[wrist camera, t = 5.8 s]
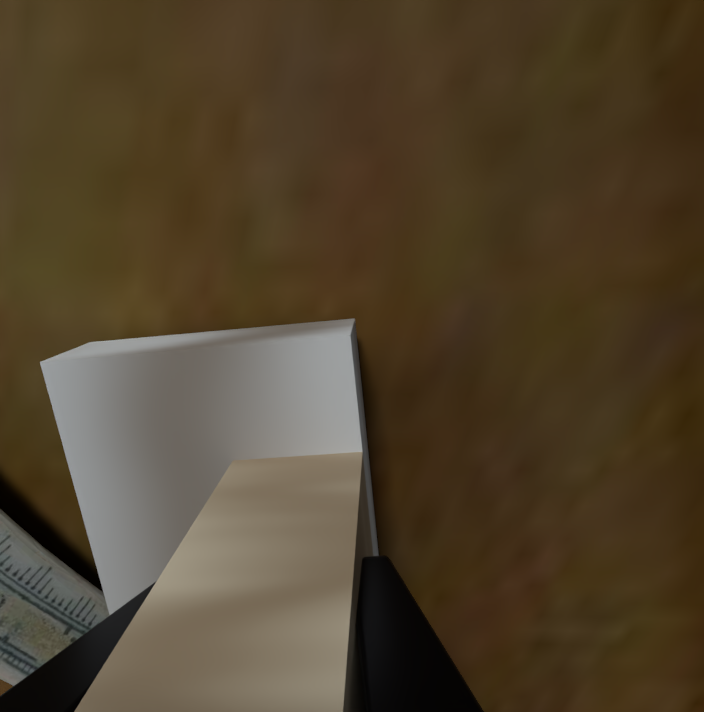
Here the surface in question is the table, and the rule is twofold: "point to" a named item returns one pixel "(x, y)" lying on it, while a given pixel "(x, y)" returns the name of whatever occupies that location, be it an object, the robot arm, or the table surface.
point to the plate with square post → (224, 513)
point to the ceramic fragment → (39, 603)
